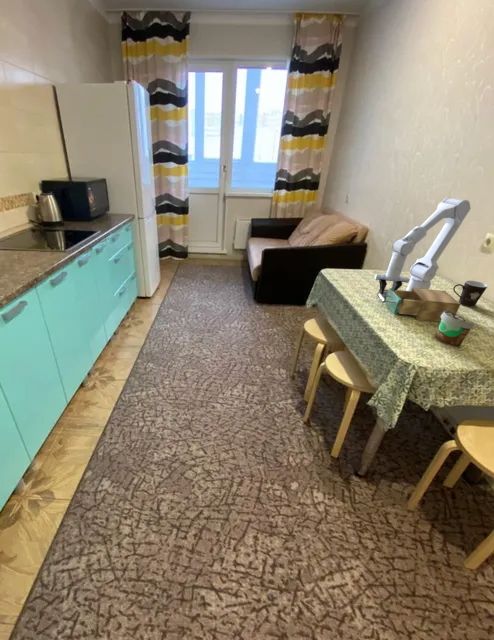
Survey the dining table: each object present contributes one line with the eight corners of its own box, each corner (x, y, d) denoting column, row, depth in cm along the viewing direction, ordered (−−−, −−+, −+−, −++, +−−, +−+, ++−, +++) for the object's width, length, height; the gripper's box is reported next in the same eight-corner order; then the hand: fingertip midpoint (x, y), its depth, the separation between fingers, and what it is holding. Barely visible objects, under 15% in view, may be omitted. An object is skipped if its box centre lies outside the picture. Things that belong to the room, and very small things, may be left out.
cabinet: (417, 319, 138) (425, 300, 134) (405, 305, 151) (412, 287, 146) (451, 322, 137) (460, 303, 132) (437, 308, 149) (445, 290, 145)
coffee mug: (478, 304, 156) (489, 284, 151) (475, 309, 150) (486, 288, 145) (450, 297, 162) (459, 277, 157) (446, 301, 157) (456, 281, 152)
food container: (424, 332, 129) (435, 308, 123) (439, 332, 129) (450, 308, 124) (446, 348, 118) (459, 323, 113) (462, 348, 119) (475, 323, 113)
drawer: (381, 313, 140) (386, 298, 137) (373, 301, 152) (378, 287, 148) (424, 317, 138) (431, 302, 135) (413, 305, 149) (419, 290, 146)
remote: (383, 301, 153) (385, 295, 152) (377, 294, 161) (379, 288, 160) (392, 302, 153) (394, 296, 151) (386, 295, 161) (388, 289, 159)
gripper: (409, 266, 152) (399, 294, 159) (376, 263, 154) (367, 291, 161) (414, 271, 146) (404, 299, 153) (380, 268, 148) (371, 296, 155)
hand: (385, 295), depth 156 cm, fingers closed on remote, 4 cm apart
